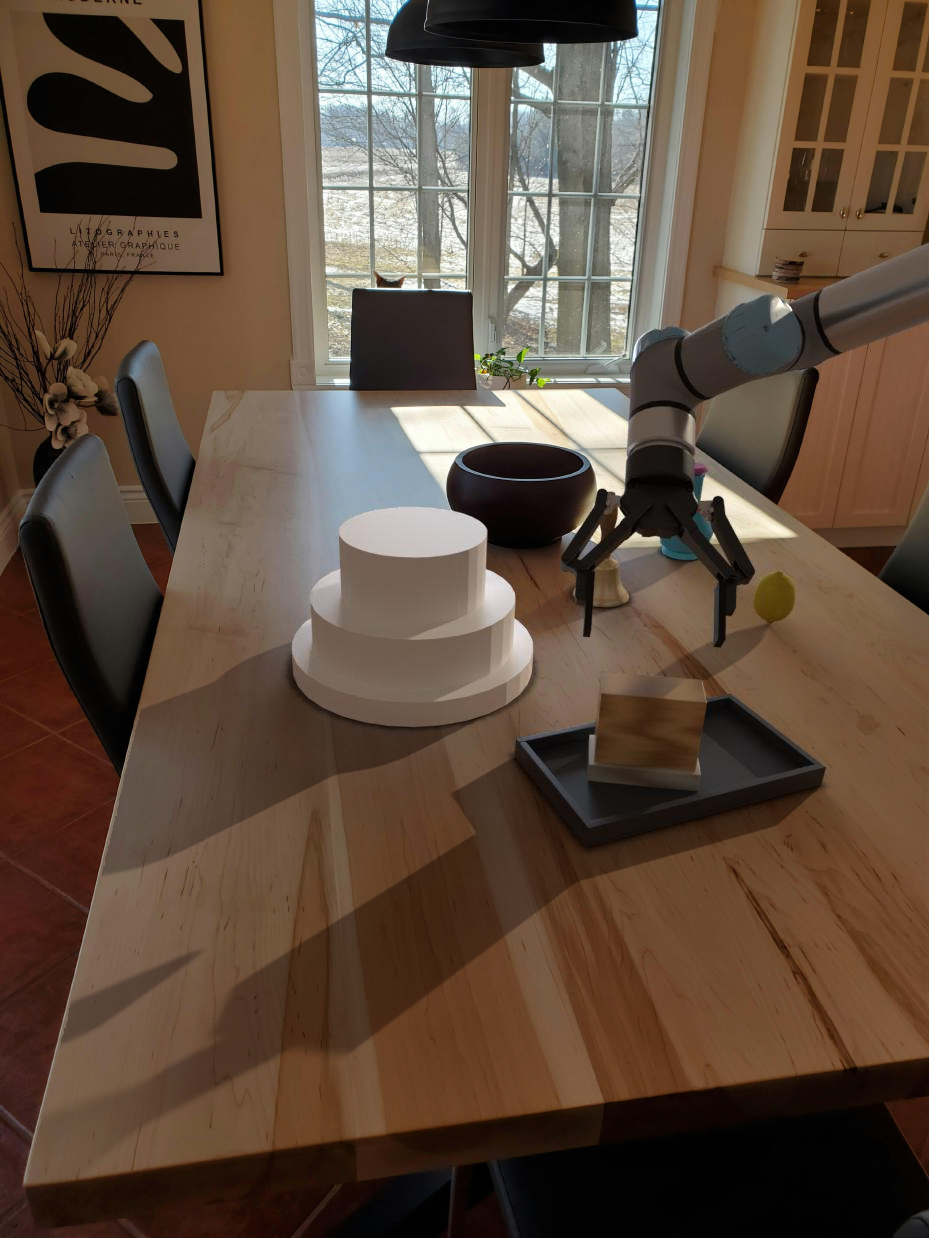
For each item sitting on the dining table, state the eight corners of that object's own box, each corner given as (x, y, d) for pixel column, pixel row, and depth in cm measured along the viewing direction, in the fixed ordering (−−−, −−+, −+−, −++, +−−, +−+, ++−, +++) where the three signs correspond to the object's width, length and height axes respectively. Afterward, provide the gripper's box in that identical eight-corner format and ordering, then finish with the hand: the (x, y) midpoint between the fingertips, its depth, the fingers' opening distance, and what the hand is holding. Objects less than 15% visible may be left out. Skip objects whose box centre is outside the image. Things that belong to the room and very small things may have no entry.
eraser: (693, 760, 94) (706, 677, 90) (698, 791, 89) (713, 705, 85) (587, 750, 96) (596, 668, 91) (587, 780, 91) (596, 695, 86)
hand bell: (563, 588, 136) (572, 486, 129) (613, 582, 138) (624, 482, 131) (587, 610, 129) (597, 504, 122) (638, 604, 131) (651, 500, 124)
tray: (821, 785, 92) (826, 766, 91) (586, 848, 83) (588, 828, 82) (727, 709, 105) (730, 692, 104) (514, 756, 96) (515, 738, 95)
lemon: (778, 614, 130) (788, 562, 126) (797, 631, 125) (808, 578, 121) (742, 615, 129) (751, 564, 125) (760, 633, 124) (770, 580, 120)
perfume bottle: (675, 566, 145) (688, 476, 138) (643, 546, 152) (653, 460, 146) (721, 558, 148) (736, 470, 142) (687, 540, 156) (699, 455, 149)
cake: (548, 724, 101) (560, 580, 93) (279, 728, 99) (268, 581, 91) (516, 610, 128) (523, 491, 120) (304, 612, 126) (297, 490, 118)
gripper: (766, 481, 103) (766, 658, 96) (548, 468, 105) (533, 639, 98) (783, 447, 96) (785, 636, 89) (549, 434, 98) (533, 616, 91)
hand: (652, 638), depth 94 cm, fingers open, 13 cm apart
